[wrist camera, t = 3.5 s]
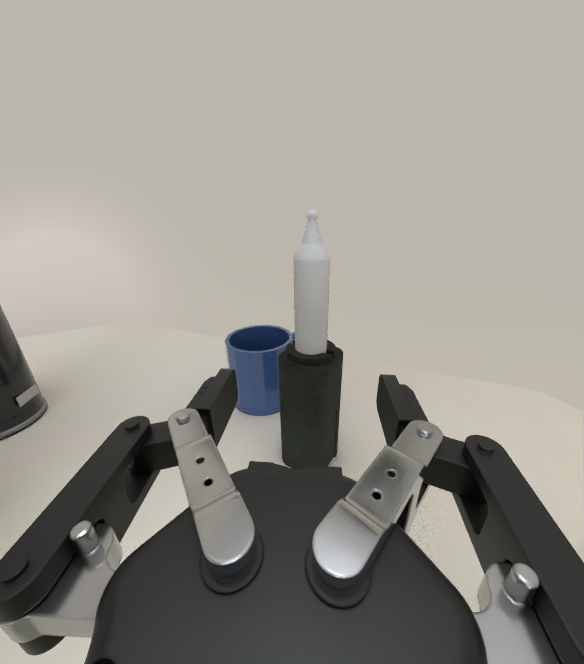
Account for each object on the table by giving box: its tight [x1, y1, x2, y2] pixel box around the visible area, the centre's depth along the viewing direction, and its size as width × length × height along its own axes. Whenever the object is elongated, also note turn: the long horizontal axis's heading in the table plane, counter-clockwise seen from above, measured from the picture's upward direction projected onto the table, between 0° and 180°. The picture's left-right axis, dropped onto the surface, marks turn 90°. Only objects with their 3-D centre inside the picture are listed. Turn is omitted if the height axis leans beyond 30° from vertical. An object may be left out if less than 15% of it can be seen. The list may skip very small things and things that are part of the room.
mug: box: [225, 325, 295, 415], centre depth 40 cm, size 12×9×10 cm
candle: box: [278, 209, 343, 469], centre depth 25 cm, size 5×5×25 cm
